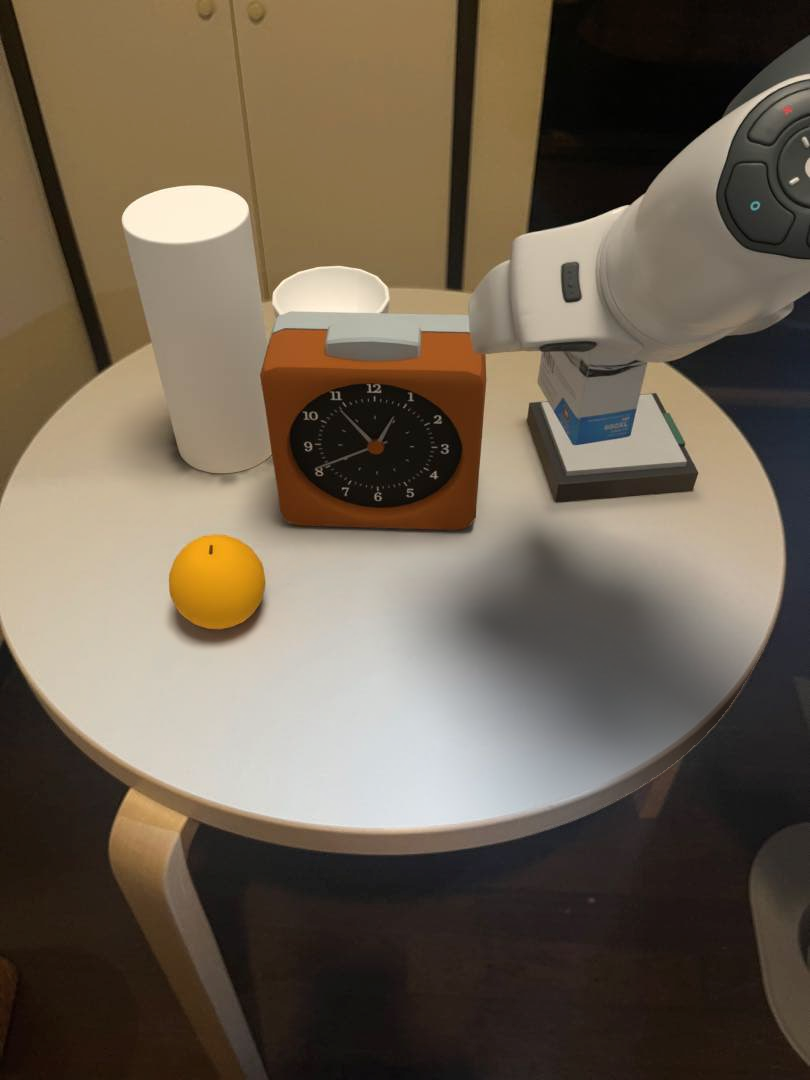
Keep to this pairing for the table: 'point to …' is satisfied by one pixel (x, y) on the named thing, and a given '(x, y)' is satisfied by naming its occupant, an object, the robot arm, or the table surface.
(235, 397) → the tall pillar cylinder
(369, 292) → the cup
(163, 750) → the table surface
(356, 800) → the table surface
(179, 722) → the table surface
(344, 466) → the alarm clock
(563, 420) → the ink box
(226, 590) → the orange fruit with stem
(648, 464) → the scale
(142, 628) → the table surface
